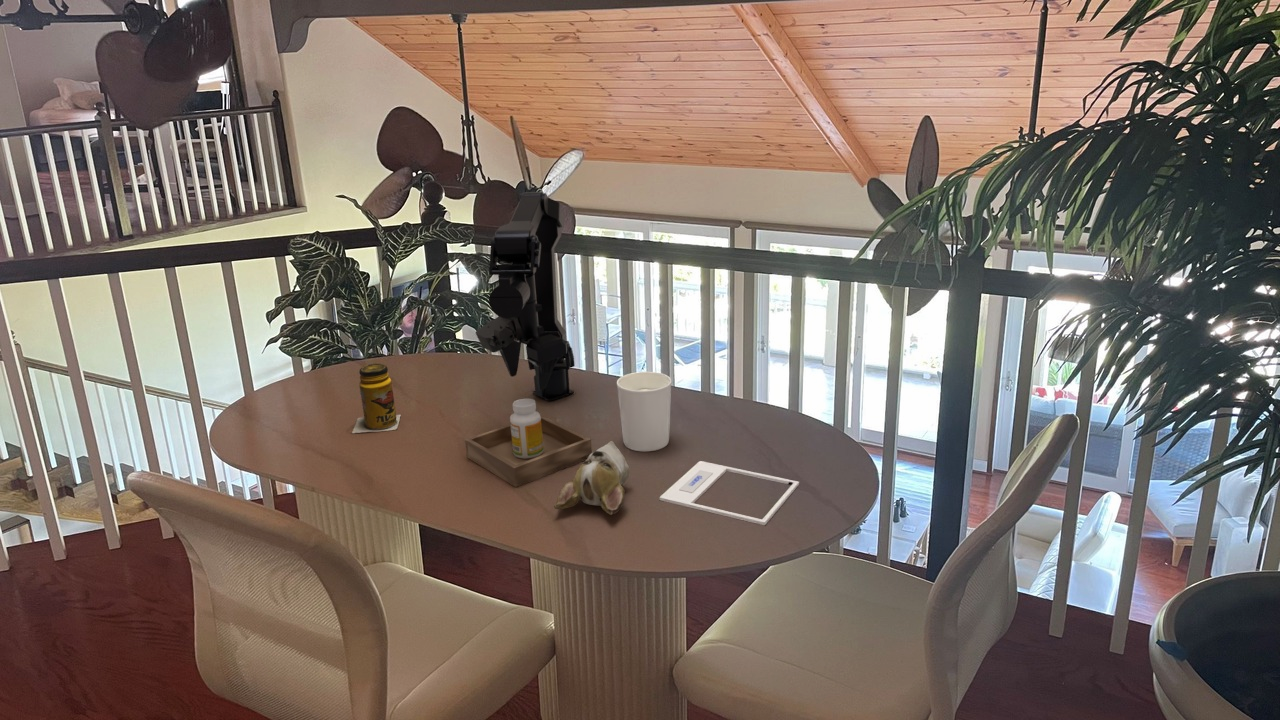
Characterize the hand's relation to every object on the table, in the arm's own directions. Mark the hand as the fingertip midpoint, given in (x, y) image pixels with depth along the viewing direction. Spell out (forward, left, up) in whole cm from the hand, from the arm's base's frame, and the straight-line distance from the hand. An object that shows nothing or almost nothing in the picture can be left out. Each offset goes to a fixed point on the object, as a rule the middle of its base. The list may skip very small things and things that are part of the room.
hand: (527, 382), depth 163 cm
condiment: (+18, -28, -12) cm, 35 cm away
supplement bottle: (+5, +6, -11) cm, 13 cm away
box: (+5, +6, -12) cm, 14 cm away
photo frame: (-11, +40, -12) cm, 43 cm away
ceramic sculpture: (+5, +27, -12) cm, 30 cm away
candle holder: (-14, +16, -12) cm, 24 cm away
